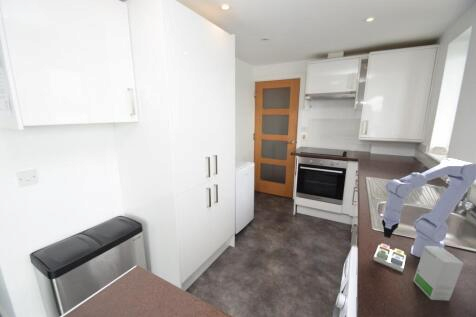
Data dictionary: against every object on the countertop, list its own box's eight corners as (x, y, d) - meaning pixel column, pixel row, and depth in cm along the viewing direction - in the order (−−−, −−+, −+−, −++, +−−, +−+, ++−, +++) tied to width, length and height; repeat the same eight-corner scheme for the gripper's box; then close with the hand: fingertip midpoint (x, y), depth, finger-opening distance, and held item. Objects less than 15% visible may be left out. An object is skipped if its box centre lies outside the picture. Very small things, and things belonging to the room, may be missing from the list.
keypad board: (405, 259, 91) (406, 255, 91) (402, 272, 83) (403, 268, 83) (378, 248, 98) (378, 244, 97) (373, 260, 90) (374, 256, 89)
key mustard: (403, 255, 90) (404, 251, 90) (402, 259, 88) (403, 254, 87) (394, 252, 92) (395, 247, 92) (393, 256, 90) (394, 251, 89)
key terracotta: (389, 250, 93) (390, 246, 93) (387, 254, 91) (388, 249, 91) (380, 247, 96) (381, 242, 95) (379, 250, 93) (380, 246, 93)
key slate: (401, 261, 87) (403, 257, 86) (401, 266, 84) (402, 261, 84) (392, 258, 89) (393, 253, 88) (391, 262, 86) (392, 257, 86)
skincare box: (412, 281, 79) (422, 244, 76) (430, 282, 79) (441, 245, 75) (431, 300, 71) (443, 261, 67) (451, 302, 71) (464, 262, 67)
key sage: (387, 256, 90) (388, 251, 89) (386, 259, 87) (387, 255, 87) (378, 252, 92) (379, 248, 91) (377, 256, 90) (378, 251, 89)
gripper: (385, 200, 96) (379, 226, 100) (379, 210, 86) (373, 239, 89) (404, 205, 92) (397, 232, 95) (400, 216, 81) (393, 247, 84)
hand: (387, 236), depth 92 cm, fingers closed
